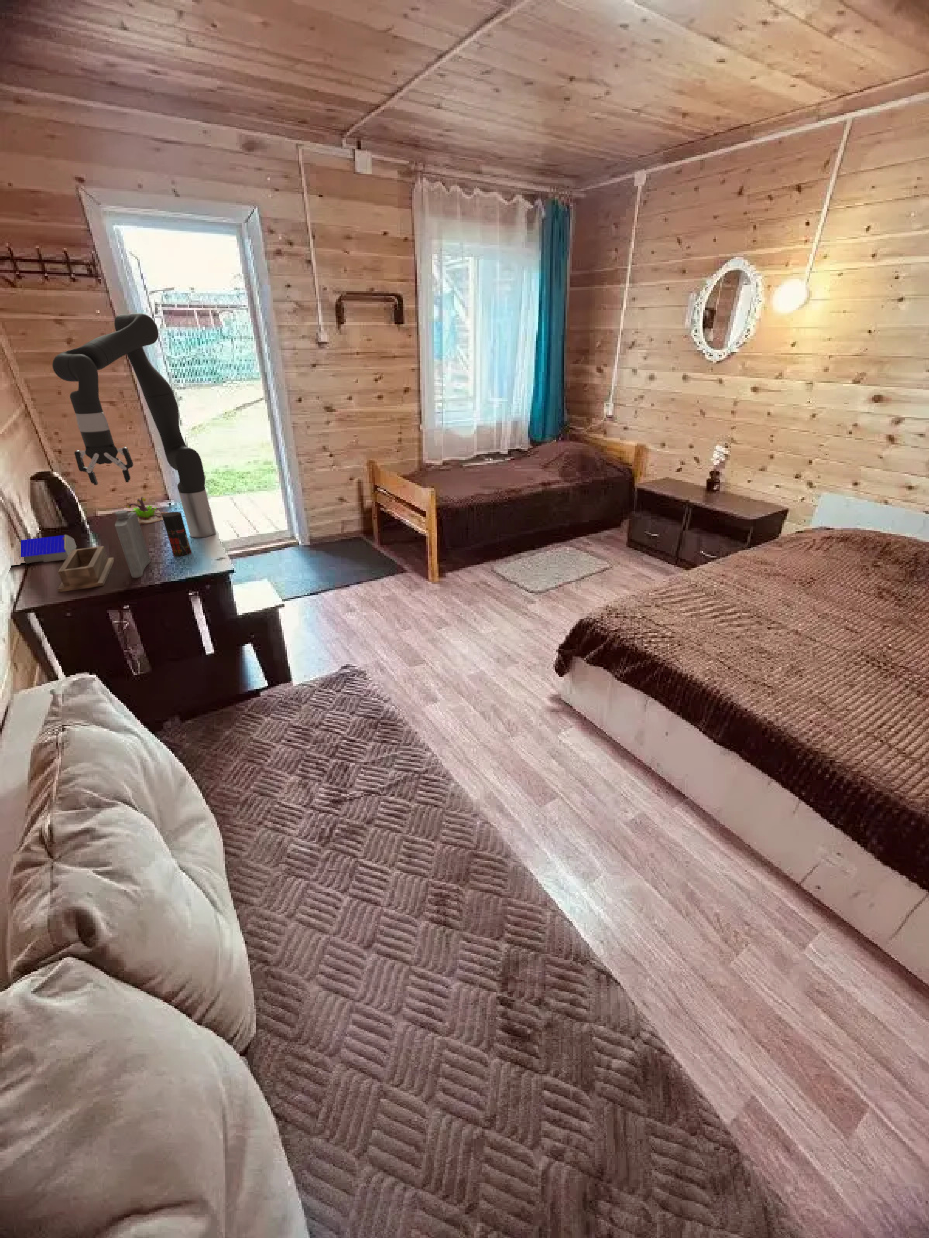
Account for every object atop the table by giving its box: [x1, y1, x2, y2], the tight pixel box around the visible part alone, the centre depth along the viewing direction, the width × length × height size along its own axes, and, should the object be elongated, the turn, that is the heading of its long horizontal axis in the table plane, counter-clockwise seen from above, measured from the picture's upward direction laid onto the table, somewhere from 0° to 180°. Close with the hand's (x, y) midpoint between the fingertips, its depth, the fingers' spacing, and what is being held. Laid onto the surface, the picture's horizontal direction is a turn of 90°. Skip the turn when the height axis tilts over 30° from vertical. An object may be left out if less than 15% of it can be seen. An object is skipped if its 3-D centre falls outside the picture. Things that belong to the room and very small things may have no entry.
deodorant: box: [162, 511, 192, 558], centre depth 185 cm, size 6×6×15 cm
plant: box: [116, 496, 169, 525], centre depth 222 cm, size 20×20×11 cm
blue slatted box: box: [20, 534, 78, 564], centre depth 185 cm, size 22×14×7 cm, turn 112°
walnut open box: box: [57, 545, 115, 593], centre depth 171 cm, size 12×24×6 cm, turn 24°
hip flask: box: [114, 509, 152, 579], centre depth 172 cm, size 16×4×20 cm, turn 17°
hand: (111, 483), depth 163 cm, fingers open, 8 cm apart
